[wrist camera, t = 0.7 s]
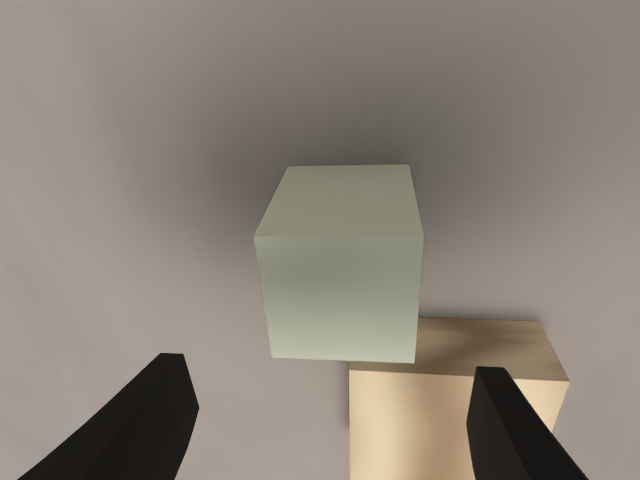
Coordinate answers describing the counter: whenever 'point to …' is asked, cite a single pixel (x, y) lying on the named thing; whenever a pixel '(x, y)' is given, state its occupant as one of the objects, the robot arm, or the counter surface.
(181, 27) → the counter surface
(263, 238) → the sage block
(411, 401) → the maple slab
